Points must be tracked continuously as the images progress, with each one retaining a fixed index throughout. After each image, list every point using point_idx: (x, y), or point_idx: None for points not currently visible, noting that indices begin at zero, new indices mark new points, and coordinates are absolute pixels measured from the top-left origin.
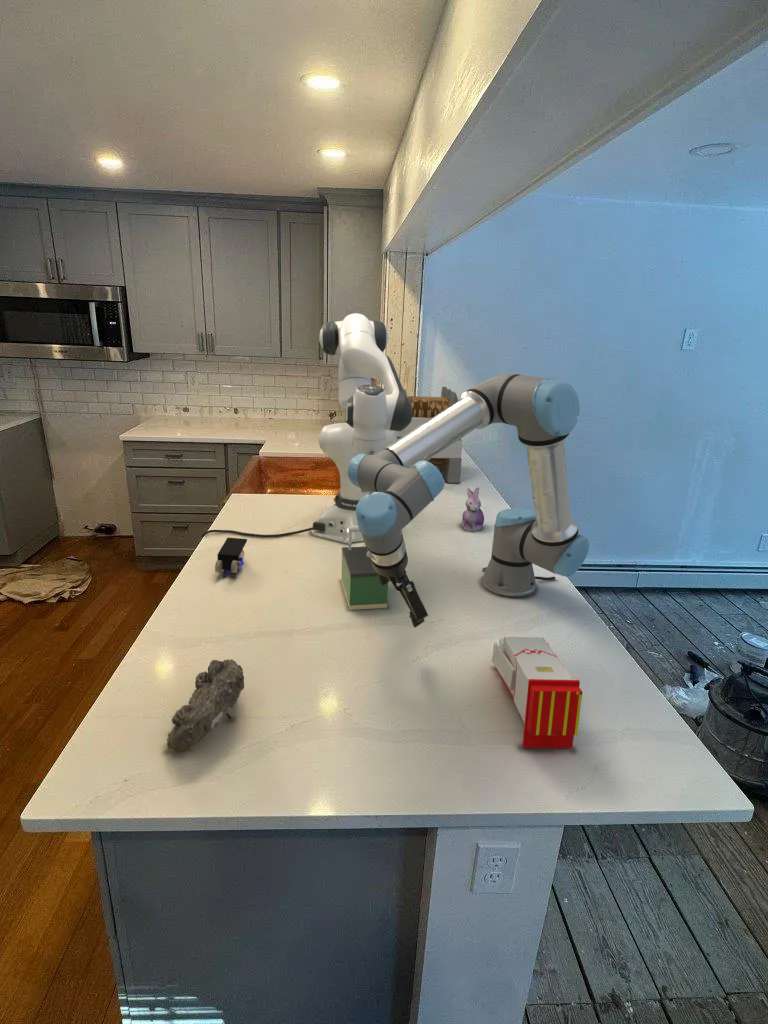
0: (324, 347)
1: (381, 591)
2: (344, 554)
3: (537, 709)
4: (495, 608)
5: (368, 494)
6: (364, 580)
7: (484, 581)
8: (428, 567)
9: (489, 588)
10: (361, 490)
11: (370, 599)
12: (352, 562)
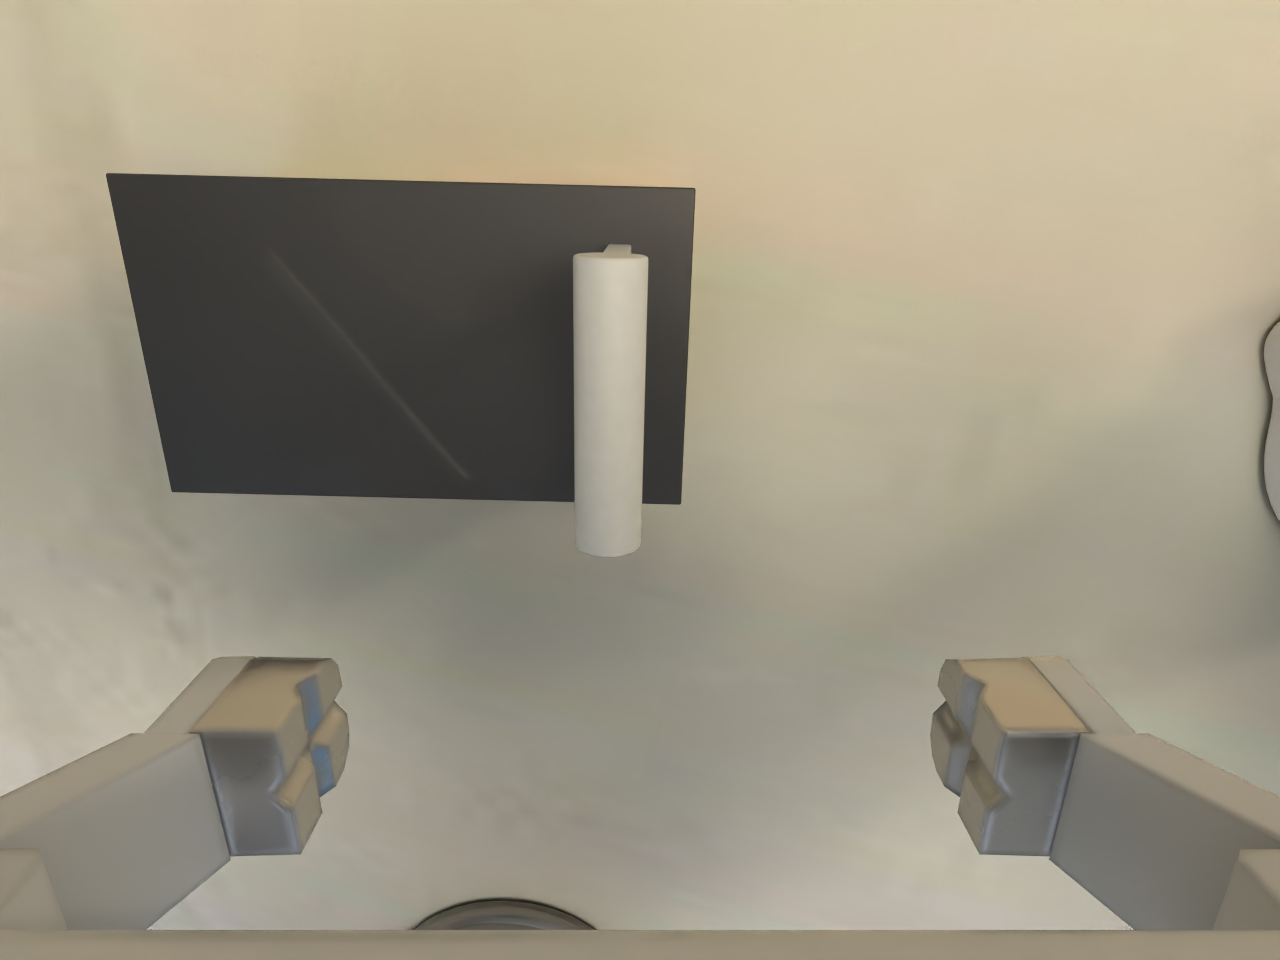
0: None
1: None
2: (527, 187)
3: None
4: (300, 875)
5: (16, 791)
6: None
7: (502, 923)
8: (761, 733)
9: (456, 916)
10: (970, 673)
11: None
12: (348, 233)
